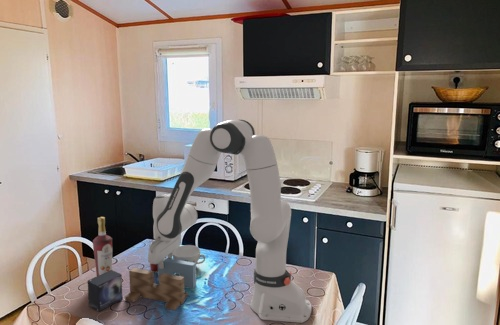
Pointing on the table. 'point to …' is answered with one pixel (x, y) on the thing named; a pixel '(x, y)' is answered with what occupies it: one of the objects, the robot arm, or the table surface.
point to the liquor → (102, 249)
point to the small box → (104, 290)
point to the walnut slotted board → (157, 288)
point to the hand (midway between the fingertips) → (165, 264)
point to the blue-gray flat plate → (180, 271)
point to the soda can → (154, 266)
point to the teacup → (188, 254)
